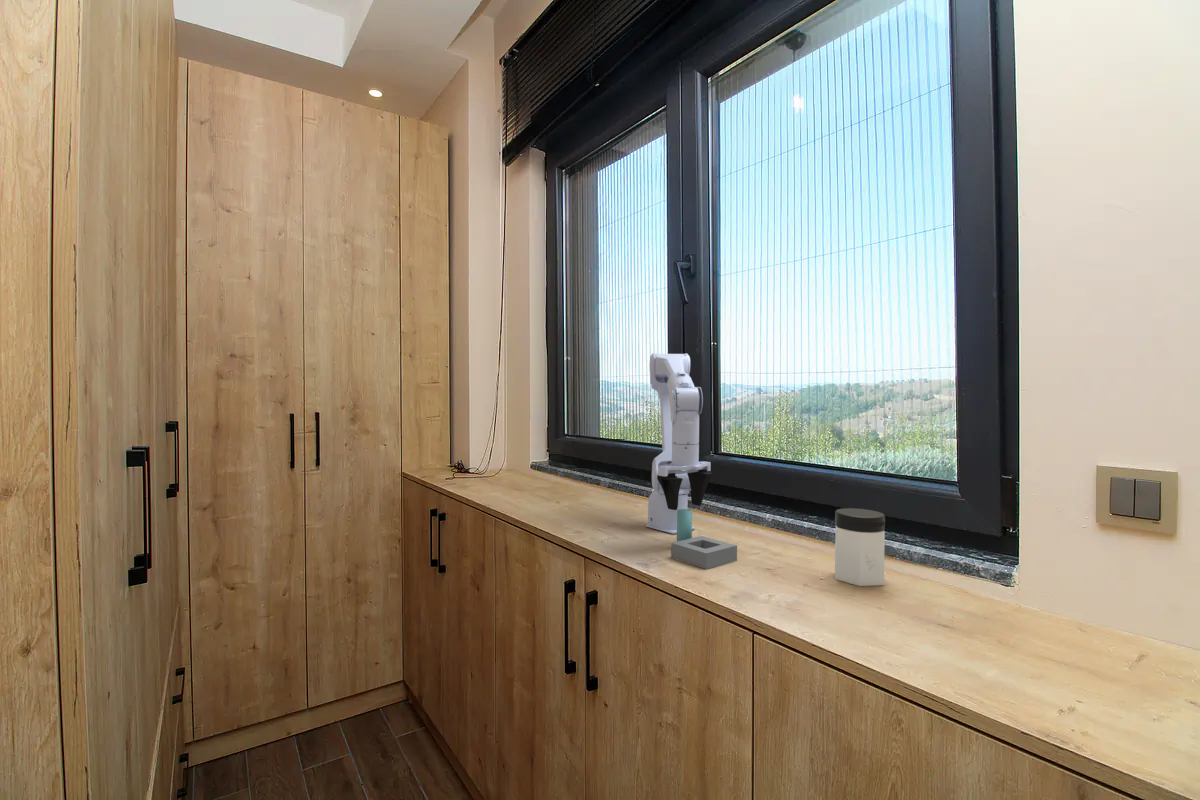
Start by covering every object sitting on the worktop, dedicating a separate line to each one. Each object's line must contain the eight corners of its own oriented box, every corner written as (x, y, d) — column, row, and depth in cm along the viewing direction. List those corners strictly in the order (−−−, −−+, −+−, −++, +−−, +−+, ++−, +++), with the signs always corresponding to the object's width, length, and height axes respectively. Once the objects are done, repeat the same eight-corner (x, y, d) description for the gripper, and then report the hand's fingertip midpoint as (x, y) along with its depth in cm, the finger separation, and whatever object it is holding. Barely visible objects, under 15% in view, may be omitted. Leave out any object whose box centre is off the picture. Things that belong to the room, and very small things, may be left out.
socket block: (671, 557, 114) (671, 542, 114) (701, 550, 120) (701, 535, 119) (706, 569, 107) (706, 553, 107) (736, 560, 112) (737, 545, 112)
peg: (673, 547, 121) (673, 510, 121) (683, 544, 123) (684, 508, 123) (684, 550, 119) (685, 512, 119) (694, 548, 121) (695, 510, 121)
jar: (848, 587, 97) (849, 518, 97) (823, 572, 105) (824, 508, 105) (896, 585, 98) (897, 517, 98) (868, 571, 106) (869, 507, 106)
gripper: (675, 446, 113) (674, 514, 113) (722, 443, 122) (721, 505, 122) (651, 444, 119) (650, 508, 119) (697, 440, 128) (696, 500, 128)
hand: (684, 507), depth 121 cm, fingers open, 7 cm apart
